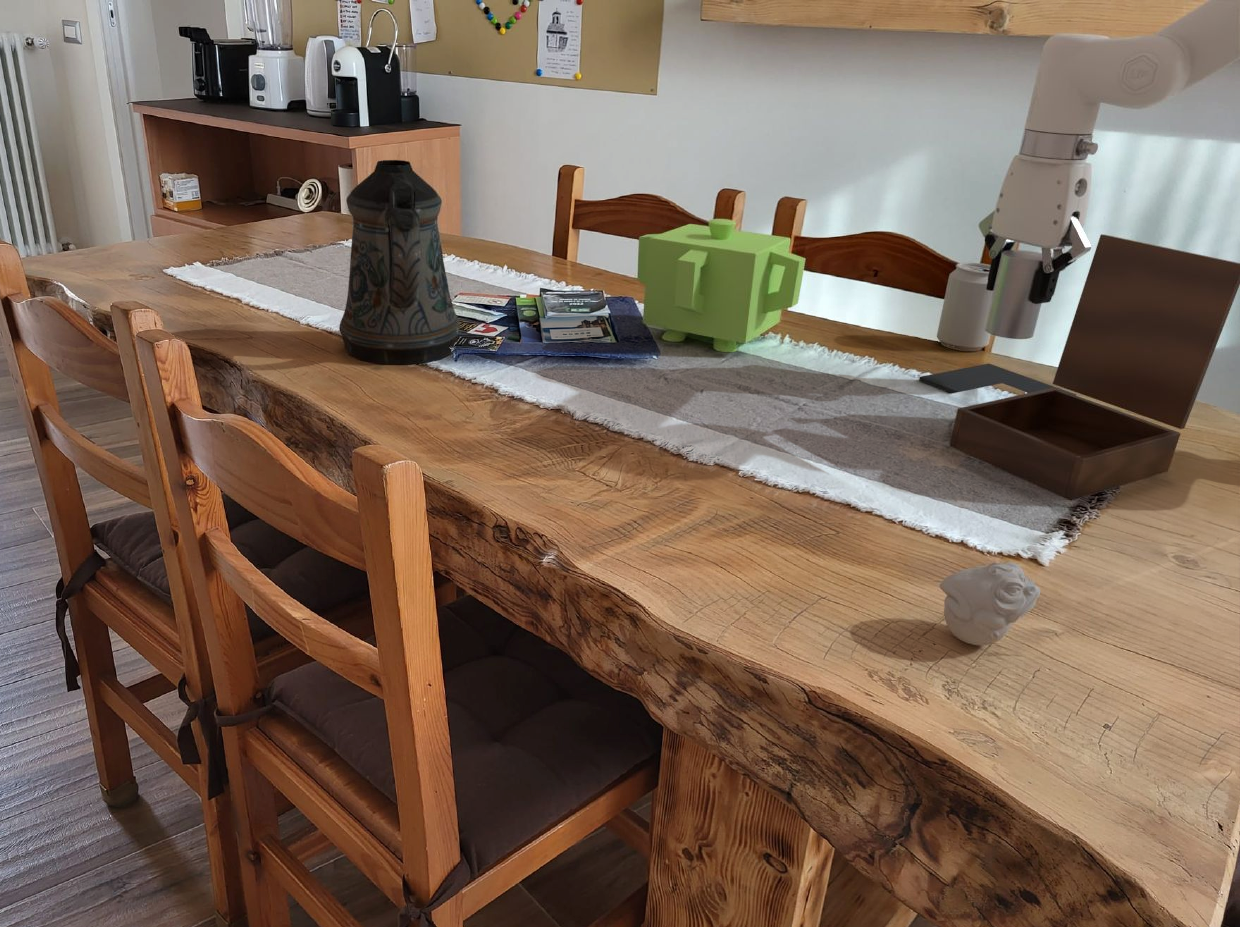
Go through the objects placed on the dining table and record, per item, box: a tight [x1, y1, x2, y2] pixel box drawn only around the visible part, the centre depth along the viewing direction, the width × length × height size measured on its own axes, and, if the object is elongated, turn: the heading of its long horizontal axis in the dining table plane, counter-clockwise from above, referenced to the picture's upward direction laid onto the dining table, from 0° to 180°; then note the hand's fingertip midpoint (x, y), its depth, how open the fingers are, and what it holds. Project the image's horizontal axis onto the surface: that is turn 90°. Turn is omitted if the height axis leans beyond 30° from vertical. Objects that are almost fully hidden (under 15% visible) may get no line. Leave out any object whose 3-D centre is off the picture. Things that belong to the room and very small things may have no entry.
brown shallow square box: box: [949, 388, 1181, 502], centre depth 110 cm, size 17×16×5 cm
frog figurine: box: [939, 561, 1041, 646], centre depth 77 cm, size 6×7×7 cm
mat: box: [918, 363, 1077, 396], centre depth 133 cm, size 14×14×1 cm
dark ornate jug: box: [338, 159, 461, 366], centre depth 134 cm, size 16×19×25 cm
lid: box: [1052, 233, 1240, 430], centre depth 110 cm, size 17×16×5 cm
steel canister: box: [984, 249, 1043, 340], centre depth 128 cm, size 6×6×10 cm
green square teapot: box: [636, 218, 807, 353], centre depth 147 cm, size 25×23×17 cm
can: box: [936, 262, 993, 352], centre depth 148 cm, size 8×8×12 cm
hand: (1017, 294), depth 128 cm, fingers closed on steel canister, 6 cm apart
